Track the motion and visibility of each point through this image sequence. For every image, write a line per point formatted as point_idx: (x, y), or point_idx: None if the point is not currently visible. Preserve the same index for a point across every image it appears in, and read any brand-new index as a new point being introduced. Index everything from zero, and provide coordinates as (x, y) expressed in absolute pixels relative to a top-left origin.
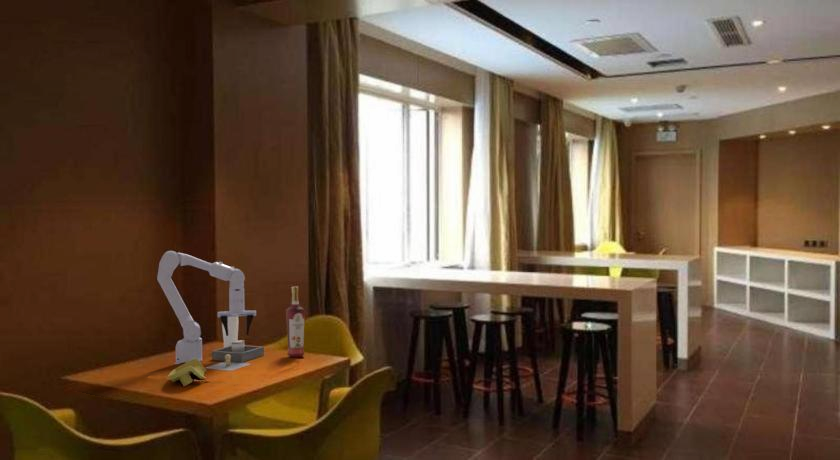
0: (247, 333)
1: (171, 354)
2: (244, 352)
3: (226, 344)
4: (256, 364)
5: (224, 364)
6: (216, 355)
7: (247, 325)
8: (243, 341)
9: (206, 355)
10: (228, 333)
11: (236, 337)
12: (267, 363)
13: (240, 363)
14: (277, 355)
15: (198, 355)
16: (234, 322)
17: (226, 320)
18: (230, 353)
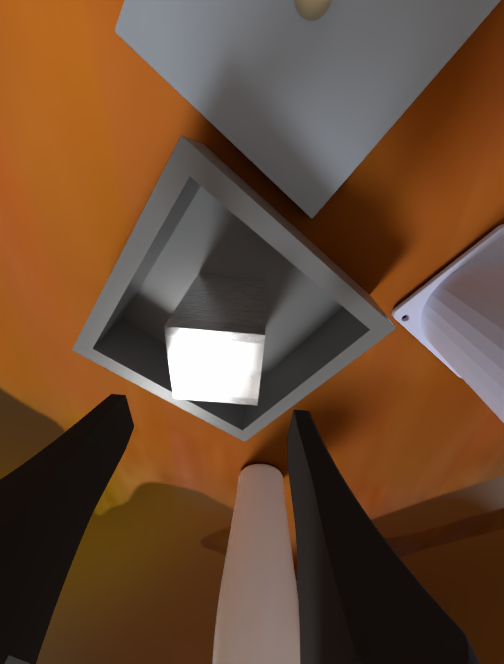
0: (108, 402)
1: (468, 474)
2: (164, 187)
3: (276, 489)
4: (110, 148)
5: (332, 89)
6: (362, 293)
7: (42, 476)
8: (170, 352)
9: (356, 431)
10: (268, 538)
11: (236, 517)
12: (43, 159)
13: (207, 86)
14: (59, 351)
15: (491, 287)
16: (236, 607)
17: (357, 623)
18: (278, 221)
